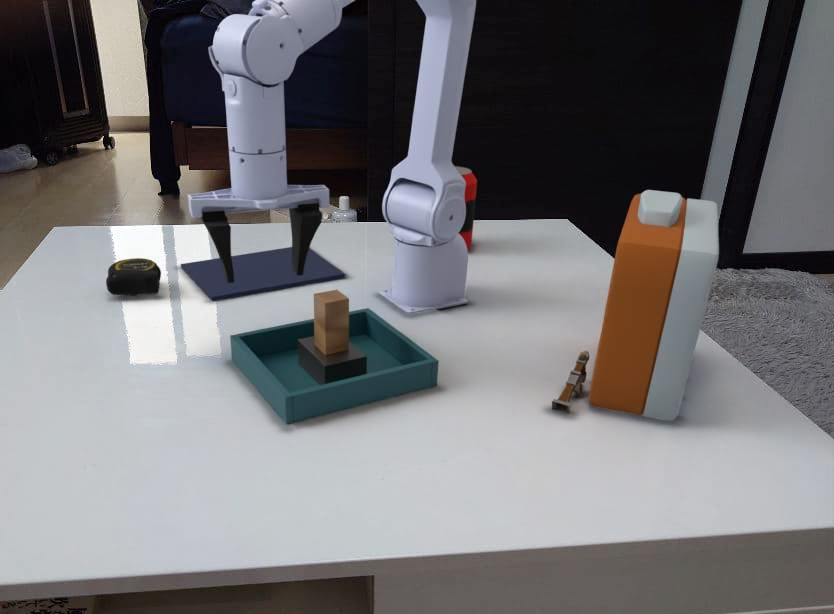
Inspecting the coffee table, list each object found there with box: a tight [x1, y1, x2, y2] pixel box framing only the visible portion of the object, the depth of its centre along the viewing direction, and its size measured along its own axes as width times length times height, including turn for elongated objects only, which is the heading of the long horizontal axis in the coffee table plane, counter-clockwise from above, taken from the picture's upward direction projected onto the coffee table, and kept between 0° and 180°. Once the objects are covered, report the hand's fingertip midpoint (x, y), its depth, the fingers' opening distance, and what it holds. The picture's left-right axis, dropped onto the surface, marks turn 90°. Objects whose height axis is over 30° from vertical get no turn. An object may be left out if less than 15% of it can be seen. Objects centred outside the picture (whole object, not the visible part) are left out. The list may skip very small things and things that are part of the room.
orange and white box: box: [588, 189, 720, 422], centre depth 81 cm, size 18×9×21 cm, turn 159°
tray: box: [229, 307, 440, 425], centre depth 85 cm, size 18×16×4 cm
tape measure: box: [105, 257, 162, 297], centre depth 105 cm, size 7×7×4 cm
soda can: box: [454, 165, 478, 251], centre depth 121 cm, size 8×8×12 cm
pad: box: [180, 246, 346, 302], centre depth 112 cm, size 20×14×1 cm
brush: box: [298, 289, 367, 385], centre depth 83 cm, size 5×7×9 cm
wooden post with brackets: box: [551, 350, 590, 413], centre depth 81 cm, size 2×8×4 cm, turn 149°
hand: (264, 276), depth 85 cm, fingers open, 7 cm apart
